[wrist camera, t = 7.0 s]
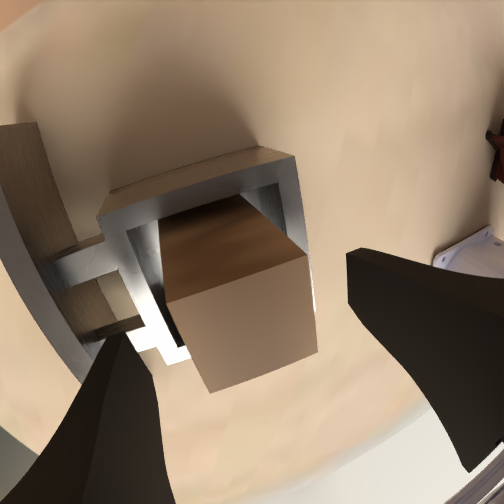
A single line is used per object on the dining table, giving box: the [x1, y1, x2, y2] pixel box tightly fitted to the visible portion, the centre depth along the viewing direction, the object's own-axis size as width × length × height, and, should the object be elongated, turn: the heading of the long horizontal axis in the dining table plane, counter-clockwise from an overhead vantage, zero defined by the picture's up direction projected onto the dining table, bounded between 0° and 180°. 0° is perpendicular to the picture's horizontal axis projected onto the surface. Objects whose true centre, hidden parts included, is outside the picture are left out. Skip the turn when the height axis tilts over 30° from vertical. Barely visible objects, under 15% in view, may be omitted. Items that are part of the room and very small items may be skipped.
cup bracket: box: [0, 122, 316, 384], centre depth 12 cm, size 11×16×5 cm
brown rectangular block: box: [158, 194, 318, 393], centre depth 11 cm, size 4×4×7 cm
